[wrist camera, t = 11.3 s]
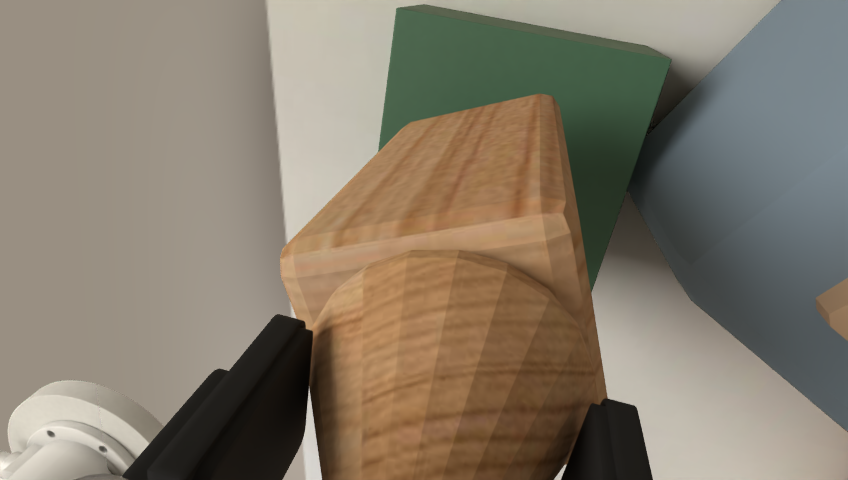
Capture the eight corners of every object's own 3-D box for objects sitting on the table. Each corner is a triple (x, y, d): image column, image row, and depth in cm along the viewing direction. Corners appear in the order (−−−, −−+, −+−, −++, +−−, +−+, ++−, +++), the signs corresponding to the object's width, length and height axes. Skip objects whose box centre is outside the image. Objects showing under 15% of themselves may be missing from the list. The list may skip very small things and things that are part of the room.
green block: (393, 206, 35) (365, 246, 30) (423, 4, 30) (396, 7, 24) (582, 250, 34) (589, 299, 28) (648, 46, 28) (672, 59, 23)
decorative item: (580, 237, 24) (696, 934, 6) (436, 259, 26) (210, 850, 8) (556, 87, 22) (633, 522, 4) (399, 122, 24) (-34, 531, 6)
